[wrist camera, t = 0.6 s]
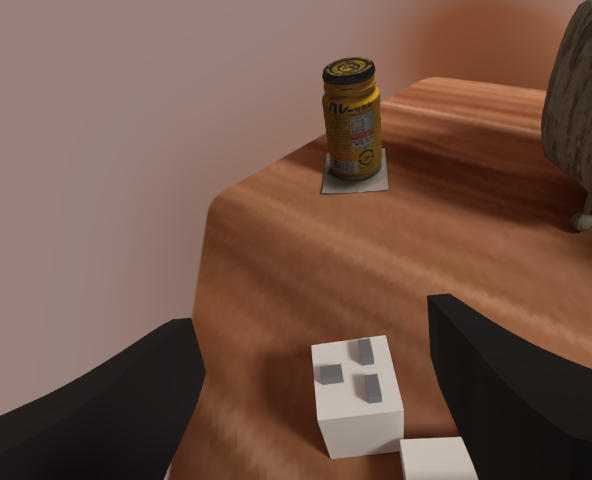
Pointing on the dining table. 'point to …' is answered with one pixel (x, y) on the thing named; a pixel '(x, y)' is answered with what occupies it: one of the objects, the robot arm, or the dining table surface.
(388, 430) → the plug
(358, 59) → the condiment
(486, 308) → the dining table surface
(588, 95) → the tabletop clock
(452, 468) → the socket plate
